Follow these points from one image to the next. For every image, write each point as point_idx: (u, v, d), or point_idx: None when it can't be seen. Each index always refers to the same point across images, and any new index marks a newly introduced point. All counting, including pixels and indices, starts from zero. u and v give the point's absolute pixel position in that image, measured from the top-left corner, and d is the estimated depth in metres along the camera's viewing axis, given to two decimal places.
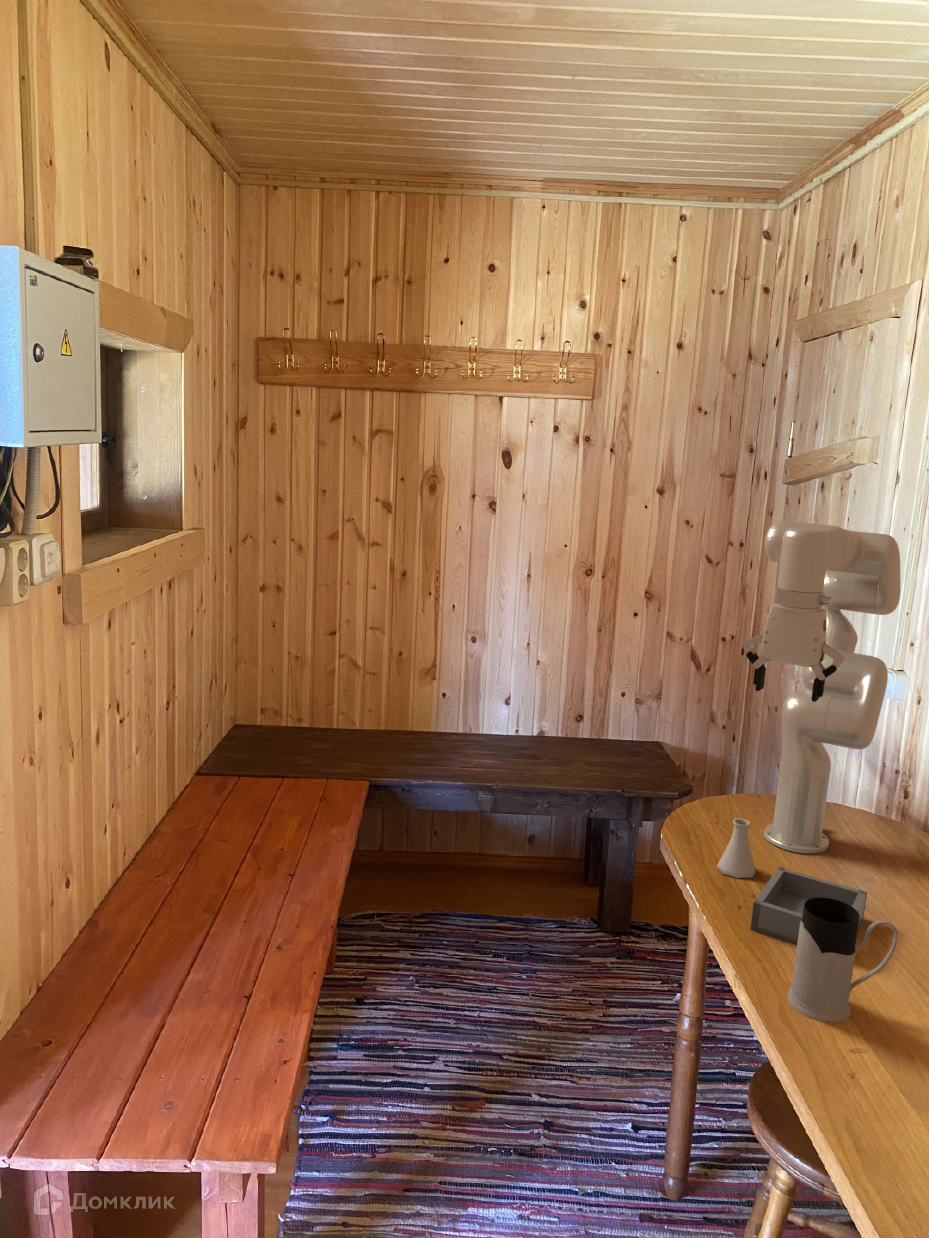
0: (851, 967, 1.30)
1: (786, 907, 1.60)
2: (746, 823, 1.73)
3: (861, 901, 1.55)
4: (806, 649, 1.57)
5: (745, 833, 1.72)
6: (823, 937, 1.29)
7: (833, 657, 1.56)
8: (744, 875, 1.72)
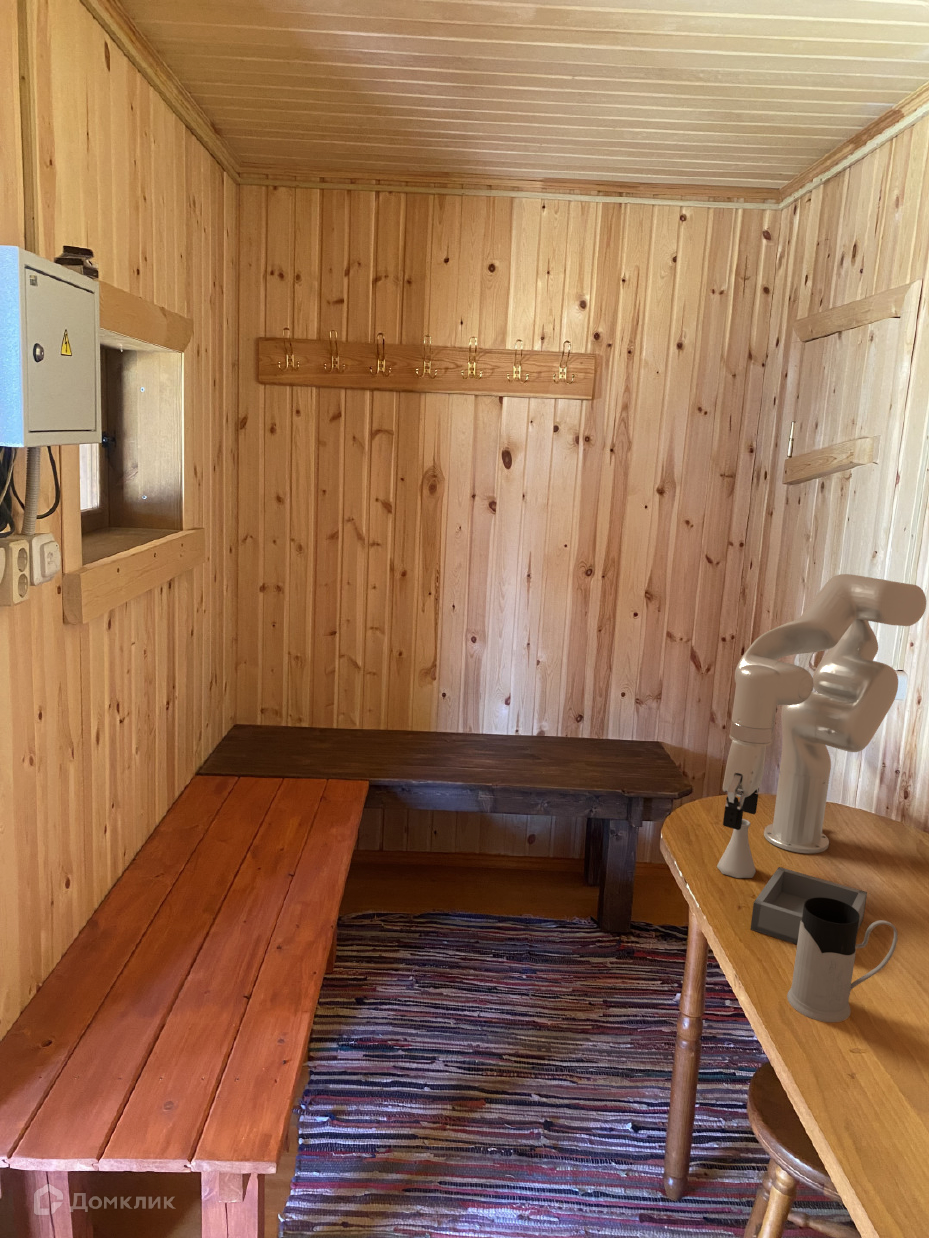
0: (851, 967, 1.30)
1: (786, 907, 1.60)
2: (746, 823, 1.73)
3: (861, 901, 1.55)
4: (762, 772, 1.72)
5: (745, 833, 1.72)
6: (823, 937, 1.29)
7: None
8: (744, 875, 1.72)
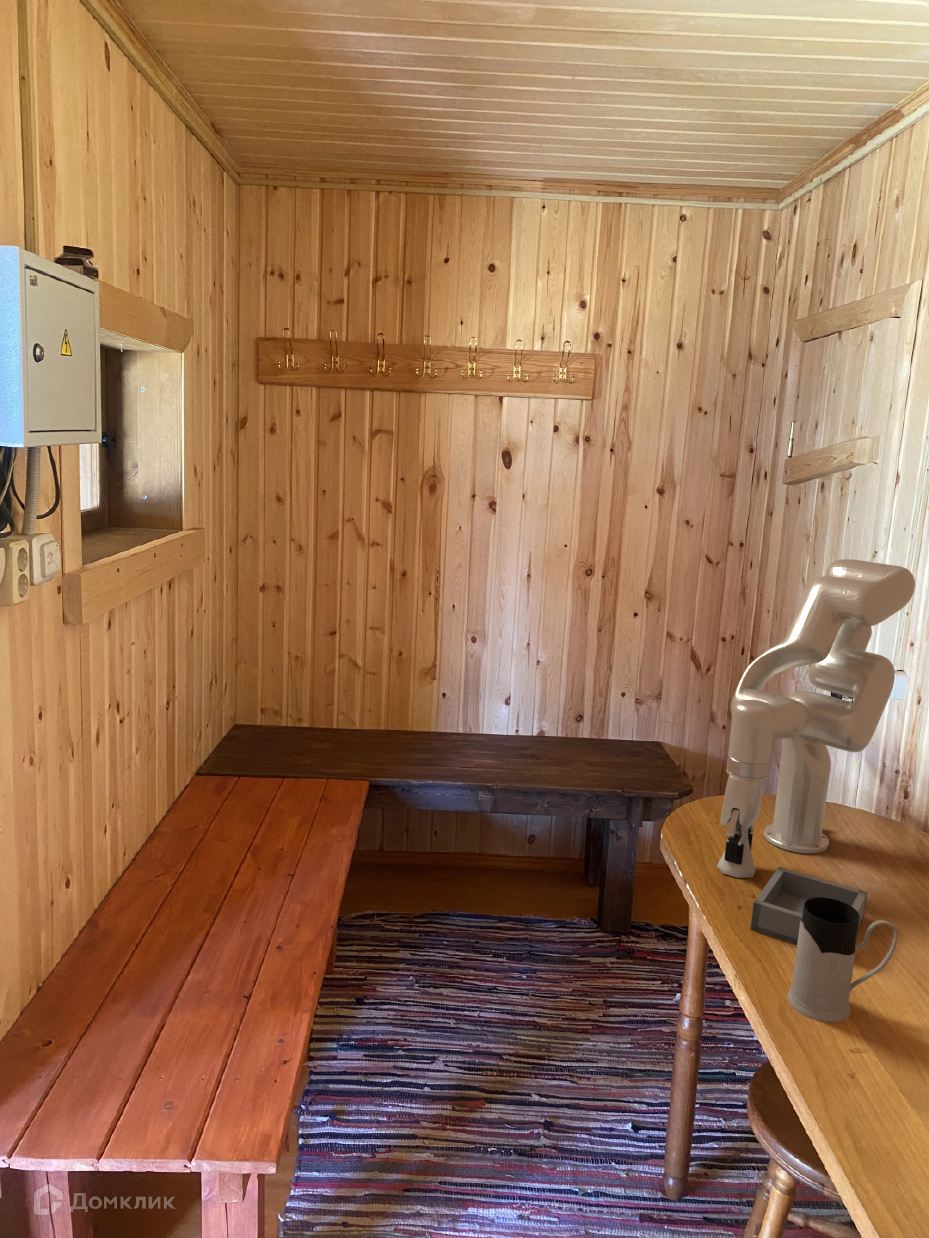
0: (851, 967, 1.30)
1: (786, 907, 1.60)
2: None
3: (861, 901, 1.55)
4: (759, 804, 1.73)
5: (745, 833, 1.72)
6: (823, 937, 1.29)
7: None
8: (744, 875, 1.72)
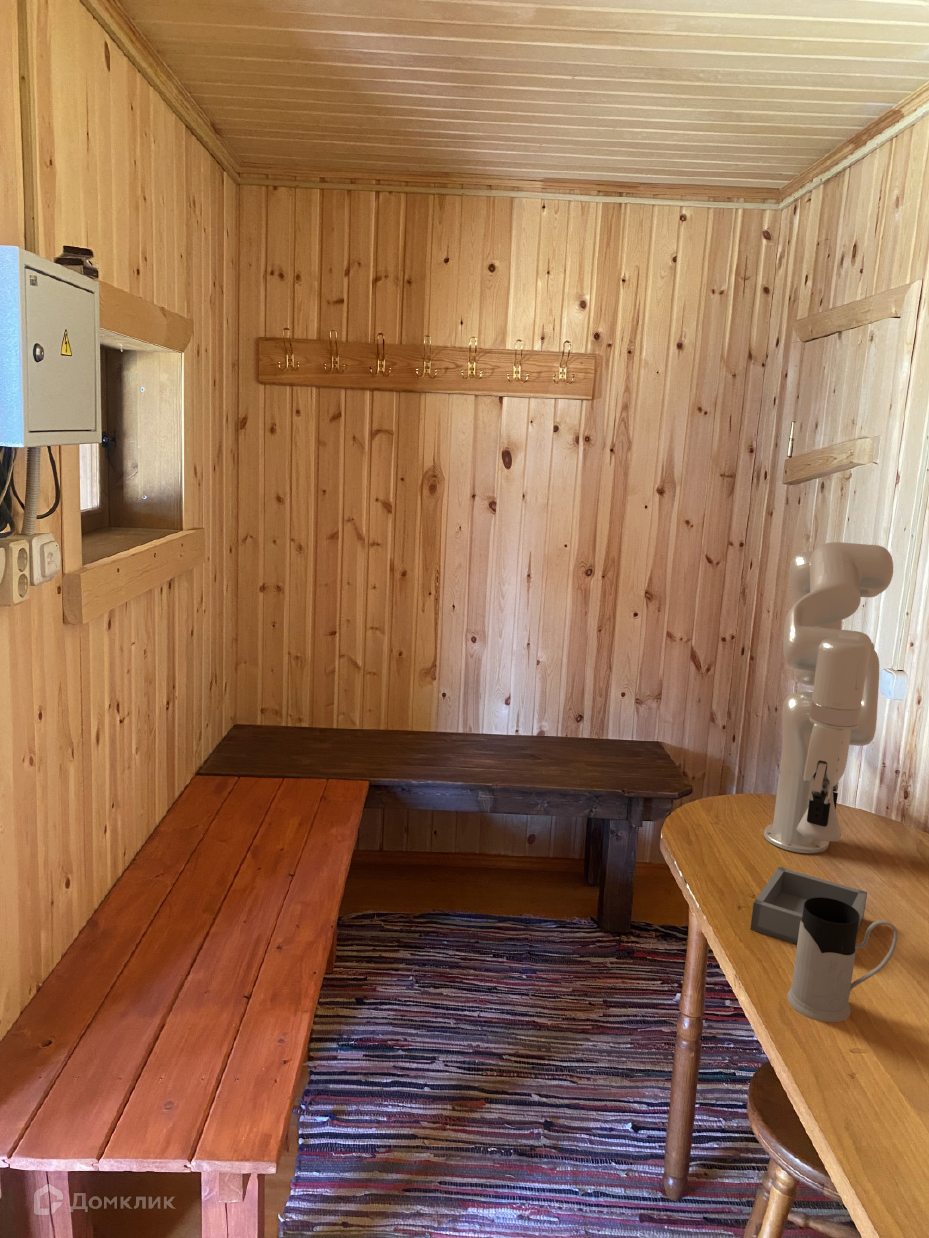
0: (851, 967, 1.30)
1: (786, 907, 1.60)
2: None
3: (861, 901, 1.55)
4: (846, 759, 1.52)
5: None
6: (823, 937, 1.29)
7: None
8: (829, 838, 1.50)
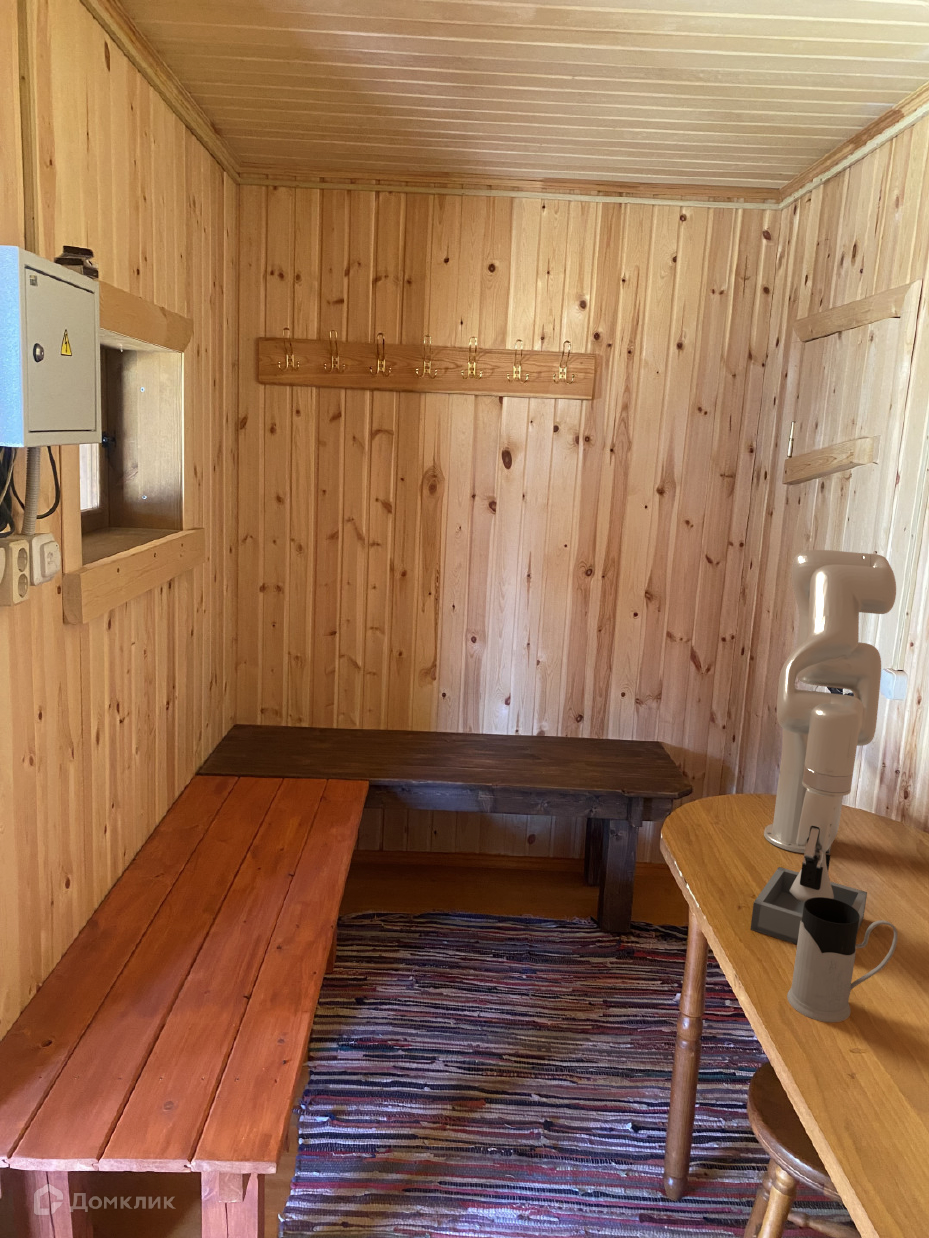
0: (851, 967, 1.30)
1: (786, 907, 1.60)
2: None
3: (861, 901, 1.55)
4: None
5: (823, 854, 1.53)
6: (823, 937, 1.29)
7: None
8: None
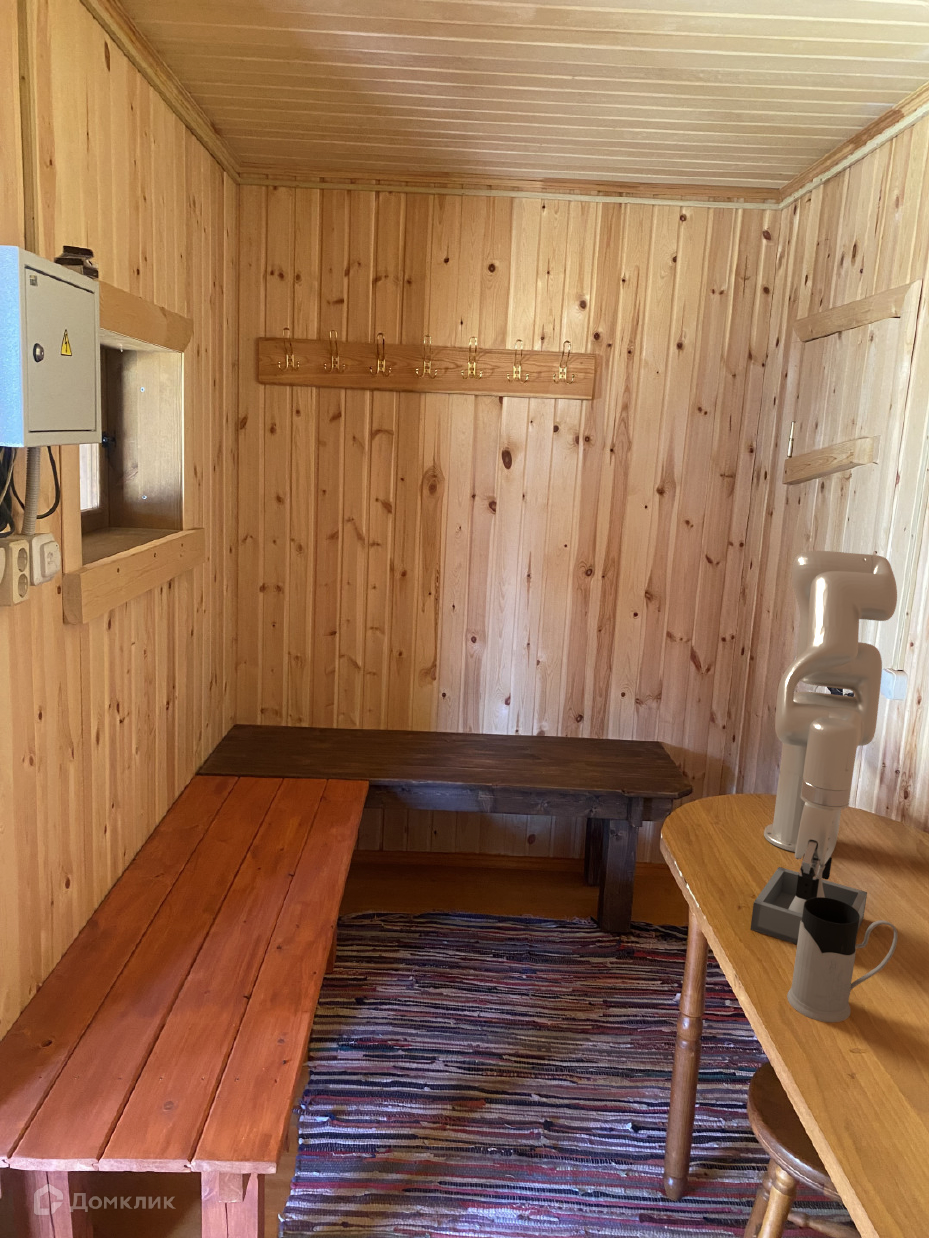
0: (851, 967, 1.30)
1: (786, 907, 1.60)
2: None
3: (861, 901, 1.55)
4: (837, 835, 1.54)
5: (819, 877, 1.54)
6: (823, 937, 1.29)
7: None
8: None
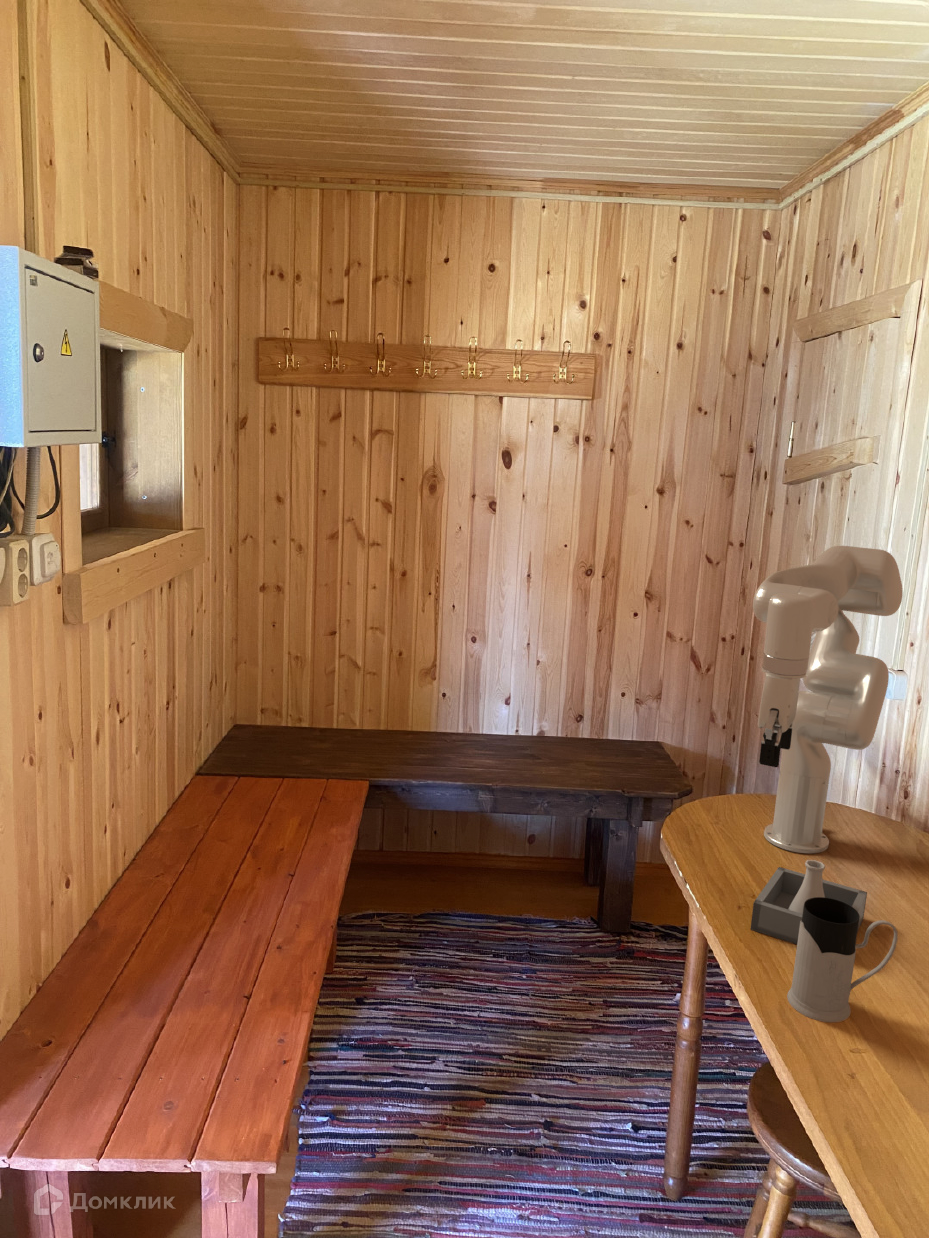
0: (851, 967, 1.30)
1: (786, 907, 1.60)
2: (820, 865, 1.55)
3: (861, 901, 1.55)
4: (796, 706, 1.63)
5: (819, 877, 1.54)
6: (823, 937, 1.29)
7: None
8: None
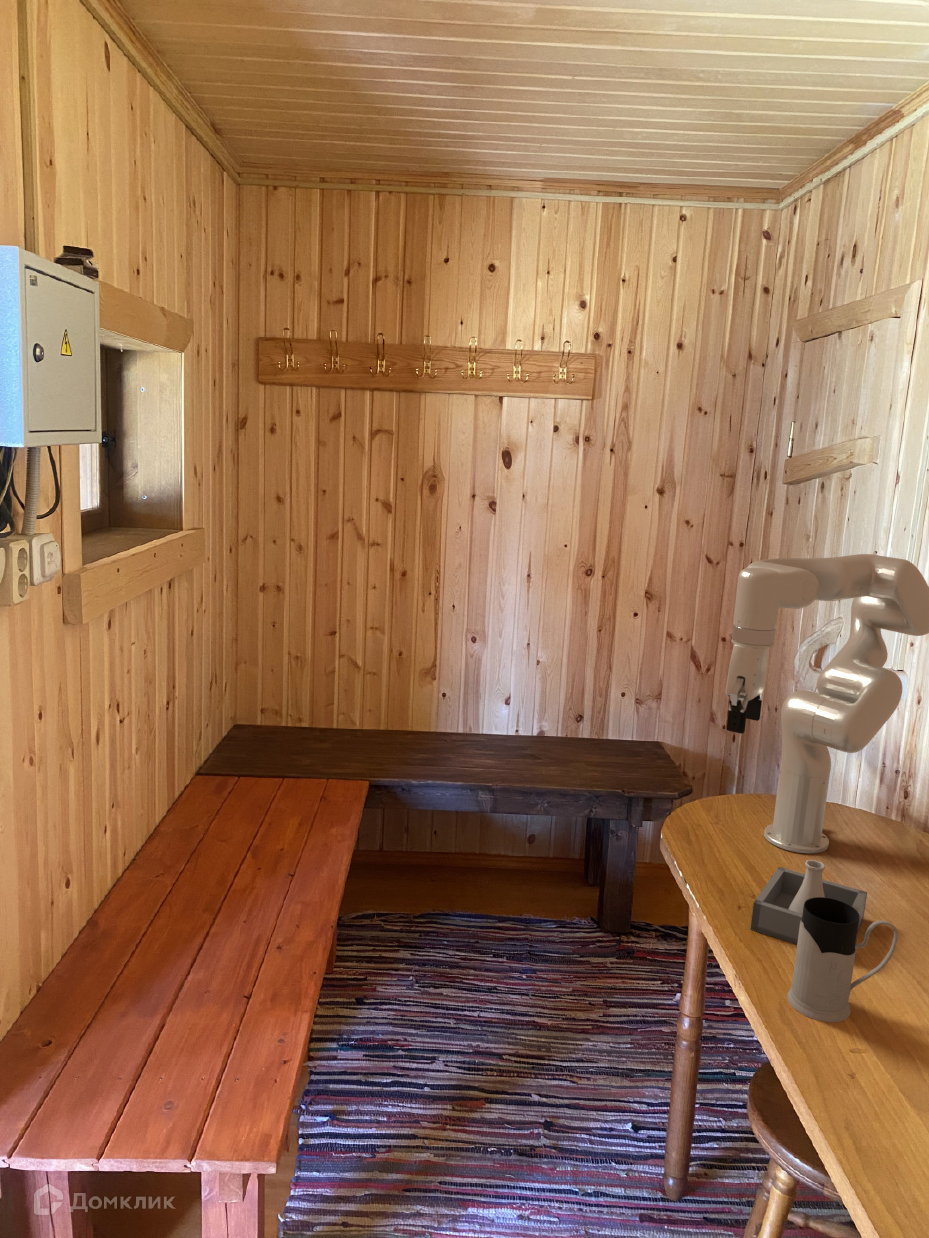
0: (851, 967, 1.30)
1: (786, 907, 1.60)
2: (820, 865, 1.55)
3: (861, 901, 1.55)
4: (765, 677, 1.70)
5: (819, 877, 1.54)
6: (823, 937, 1.29)
7: None
8: None
